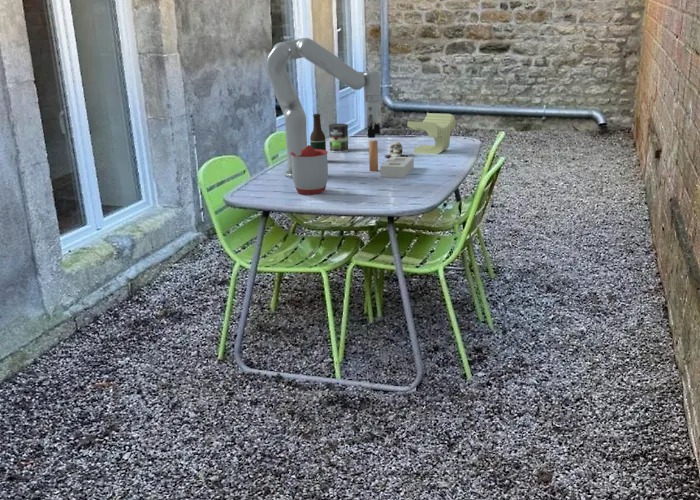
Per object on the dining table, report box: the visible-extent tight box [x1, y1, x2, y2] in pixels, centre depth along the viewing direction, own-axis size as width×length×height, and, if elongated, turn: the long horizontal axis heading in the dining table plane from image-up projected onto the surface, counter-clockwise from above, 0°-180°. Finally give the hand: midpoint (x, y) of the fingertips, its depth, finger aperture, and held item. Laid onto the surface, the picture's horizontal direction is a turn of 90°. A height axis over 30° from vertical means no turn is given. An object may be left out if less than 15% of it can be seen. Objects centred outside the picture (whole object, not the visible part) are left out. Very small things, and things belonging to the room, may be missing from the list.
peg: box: [368, 140, 379, 172], centre depth 341 cm, size 4×4×14 cm
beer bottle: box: [309, 113, 327, 151], centre depth 363 cm, size 8×8×24 cm
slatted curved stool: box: [407, 112, 456, 155], centre depth 380 cm, size 30×16×18 cm, turn 154°
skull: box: [384, 141, 409, 158], centre depth 372 cm, size 12×10×10 cm
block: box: [379, 156, 415, 179], centre depth 337 cm, size 22×11×5 cm, turn 164°
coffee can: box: [328, 123, 349, 154], centre depth 390 cm, size 10×10×14 cm
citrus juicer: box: [291, 144, 329, 196], centre depth 305 cm, size 16×17×20 cm
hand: (374, 135), depth 338 cm, fingers open, 9 cm apart
